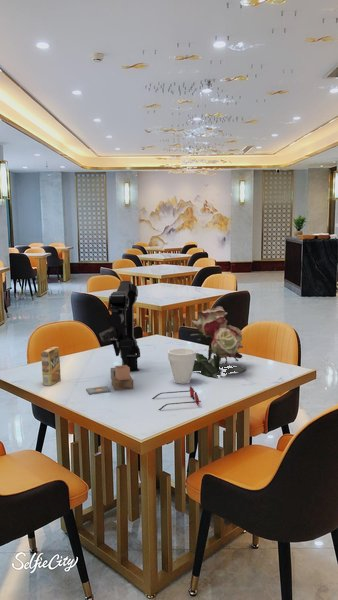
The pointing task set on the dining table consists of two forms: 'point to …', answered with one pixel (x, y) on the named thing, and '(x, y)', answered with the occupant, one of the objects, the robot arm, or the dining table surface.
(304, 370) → the dining table surface
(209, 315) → the rose bouquet
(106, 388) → the card
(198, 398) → the glasses
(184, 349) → the cup
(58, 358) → the candy box
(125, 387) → the walnut block
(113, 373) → the charcoal block
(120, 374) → the terracotta block
